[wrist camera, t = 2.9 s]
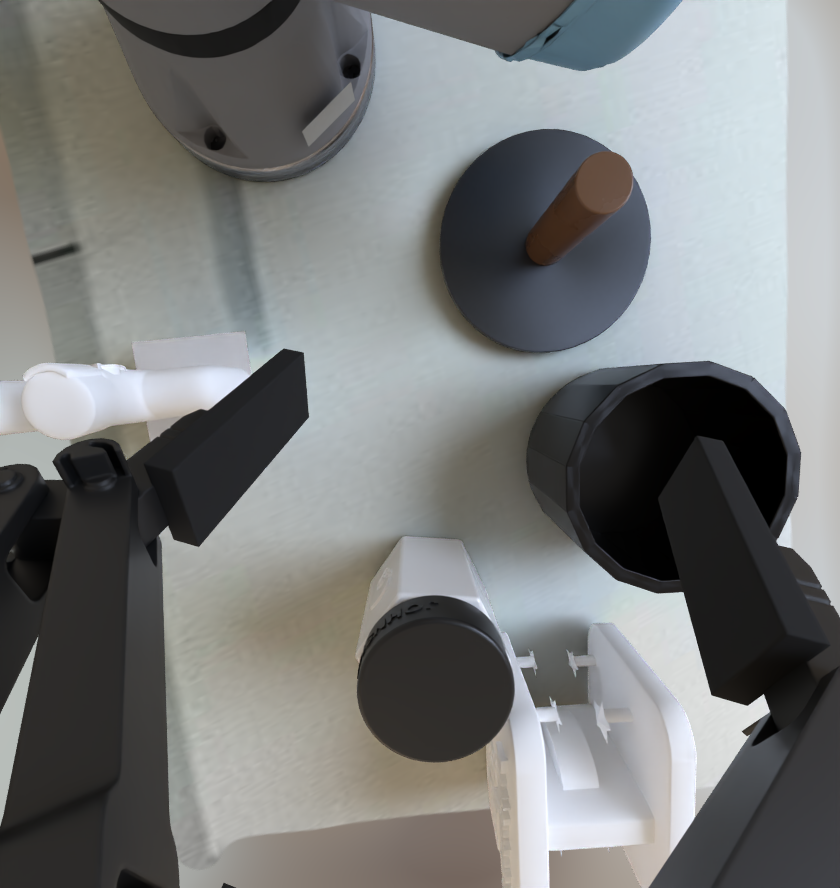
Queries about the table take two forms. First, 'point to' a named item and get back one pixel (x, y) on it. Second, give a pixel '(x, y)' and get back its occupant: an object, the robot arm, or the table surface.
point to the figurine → (126, 388)
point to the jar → (432, 654)
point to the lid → (545, 240)
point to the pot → (653, 457)
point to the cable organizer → (592, 767)
